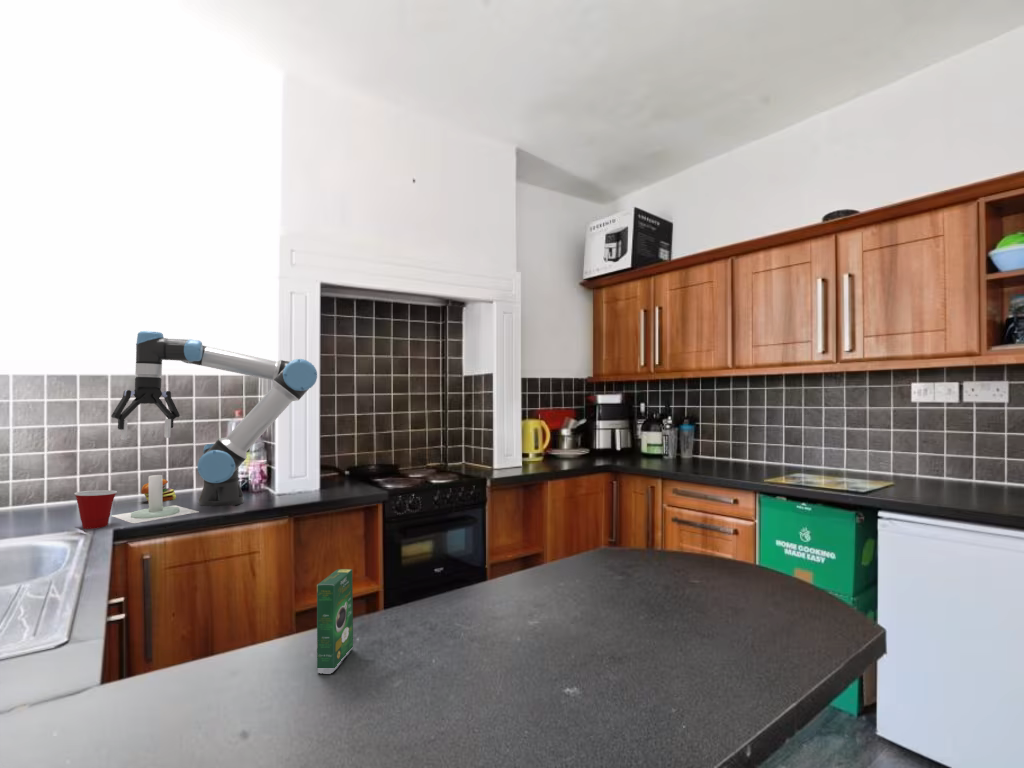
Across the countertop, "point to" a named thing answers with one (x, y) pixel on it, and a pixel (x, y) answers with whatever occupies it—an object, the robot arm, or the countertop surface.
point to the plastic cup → (95, 507)
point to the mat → (128, 518)
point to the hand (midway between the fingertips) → (146, 438)
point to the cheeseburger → (167, 493)
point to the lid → (155, 501)
